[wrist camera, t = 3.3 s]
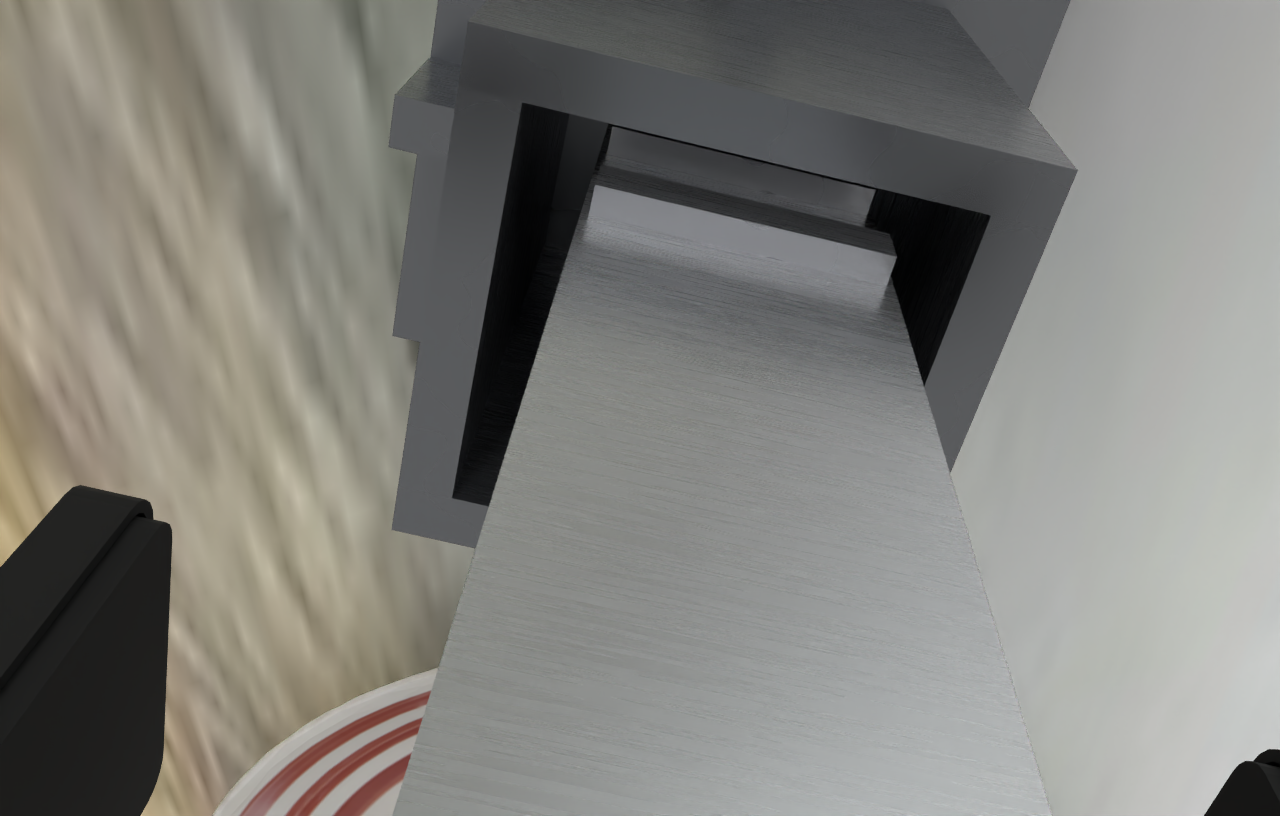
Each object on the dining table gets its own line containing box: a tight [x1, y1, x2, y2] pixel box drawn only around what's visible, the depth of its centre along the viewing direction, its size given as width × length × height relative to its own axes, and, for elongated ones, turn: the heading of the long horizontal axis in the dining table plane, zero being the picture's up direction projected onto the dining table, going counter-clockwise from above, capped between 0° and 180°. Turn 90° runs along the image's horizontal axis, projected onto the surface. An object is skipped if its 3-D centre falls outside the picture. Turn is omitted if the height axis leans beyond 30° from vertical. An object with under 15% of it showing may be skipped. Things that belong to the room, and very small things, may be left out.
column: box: [392, 123, 1052, 816], centre depth 16 cm, size 5×4×21 cm
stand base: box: [389, 0, 1078, 548], centre depth 21 cm, size 12×12×11 cm
